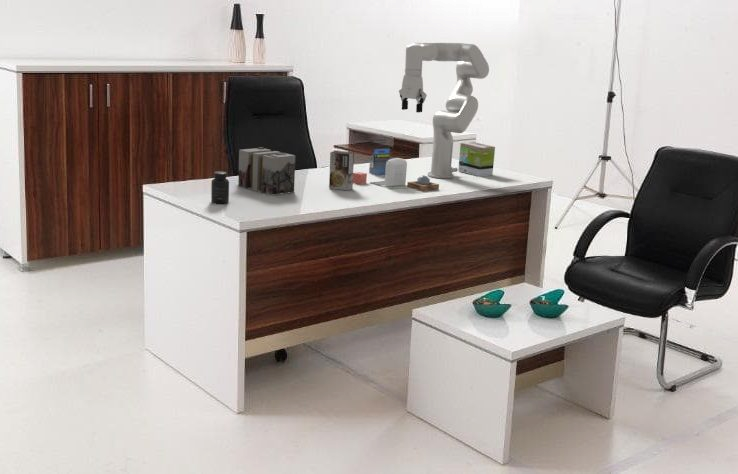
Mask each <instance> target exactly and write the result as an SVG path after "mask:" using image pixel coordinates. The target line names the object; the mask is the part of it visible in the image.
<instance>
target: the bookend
mask: <svg viewBox="0 0 738 474" xmlns="http://www.w3.org/2000/svg"><path fill="white" fill-rule="evenodd" d="M295 172H296V155H294V154H291V153H286V152H281V151H278V150H273V151H272V149H269V148H268V149H267V148H265V147H263V146H259V147H256V148H245V149H239V151H238V182H237V183H238V185H239V186H238V187H243V186H244V187H243V188H245V187H246V189H253V190H252V191H255V192H258V190H260V192H261V193H262V194H263V193H264V194H268V193H269V195H270V194H271V195H270V196H274V195H273V194H275V195H281V194H280V193H283V194H288V192H290V193H295V179H296V177H295V175H296V173H295Z"/></svg>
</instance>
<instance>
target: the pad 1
mask: <svg viewBox="0 0 738 474" xmlns="http://www.w3.org/2000/svg"><path fill="white" fill-rule="evenodd" d="M369 184H372V185H375V186H378V187H381V186H380V185H385V180H382V181H372V182H371V181H370V182H369Z"/></svg>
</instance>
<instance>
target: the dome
mask: <svg viewBox="0 0 738 474" xmlns="http://www.w3.org/2000/svg"><path fill="white" fill-rule="evenodd" d="M416 180H417V184H421V185H429V184H430V182H431V181H430V180H431V179H430V178H429V176H428V175H420V176H418V178H417V179H416Z"/></svg>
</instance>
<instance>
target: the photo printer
mask: <svg viewBox="0 0 738 474" xmlns="http://www.w3.org/2000/svg"><path fill="white" fill-rule="evenodd" d="M407 167H408V162H407V160H406V159H404V158H399V157H395V158H389V160H388V161H387V162H386V170H385V174H384V181H385V186H401V185H406V183H407V182H406V181H407V171H408V169H407Z"/></svg>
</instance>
